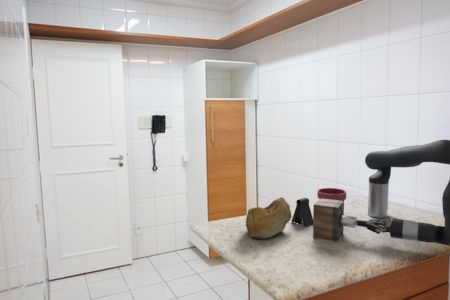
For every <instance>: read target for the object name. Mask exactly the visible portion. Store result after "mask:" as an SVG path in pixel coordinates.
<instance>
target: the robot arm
mask: <svg viewBox="0 0 450 300" xmlns="http://www.w3.org/2000/svg"><path fill="white" fill-rule="evenodd" d="M364 163H365V165H366V167H367V168H368V169H370V170H376V172H375V173H373V174H372V175H370V176H369V177H368V196H367V199H368V200H367V201H368V202H367V215H368V216H369V217H372V218H374V219H368V220H363V219H357V224H356V227H363V228H366V230H368V231H371V232H372V233H375V234H378V235H379V234H382V233H384V234H385V233H388V234H389V235H390V236H389V237H390V238H394V239H398V240H399V239H400V240H406V241H415V242H423V243H431V244H433V243H435V244H439V245H443V246H449V247H450V179H449V180H448V182H447V184H446V186H445V189H444V190H443V192H442V197H441V200H442V201H441V202H442V214H443V217H444V226H443V225H436V224H433V223H427V222H421V221H419V222H418V221H416V220H415V221H414V220H409V219H402V218H394V217H391V219H390V221H386V220H385V219H384V218H388V214H389V212H388V209H389V183H390V178H391V174H392V173H391V171H392V168H414V167H417V166H420V165H421V164H423V163H436V164H437V163H438V164H442V165H449V166H450V139H438V140H434V141H432V142H429V143H424V144H418V145H417V144H416V145H408V146H402V147H398V148H393V149H389V150H385V151H384V150H382V151H381V150H378V151H377V150H376V151H375V150H374V151H370V152H368V153H367V154H366V155H365V158H364Z"/></svg>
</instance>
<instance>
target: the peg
mask: <svg viewBox="0 0 450 300" xmlns="http://www.w3.org/2000/svg"><path fill="white" fill-rule="evenodd" d="M357 220H358V219H357V216H350V215H345V214H344V215H340V220H339V225H340V226H343V227H347V228H352V229H353V228H355V229H356V228H357V225H356V224H357Z"/></svg>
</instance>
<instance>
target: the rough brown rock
mask: <svg viewBox="0 0 450 300" xmlns="http://www.w3.org/2000/svg"><path fill="white" fill-rule="evenodd" d="M292 217H293V215H292V211H291V208H290V204H289V203H288V202H287V201H286V199H285V198H284V197H279V198H276V199H274V200H273V201H272V202H271V203H270V204H269V205H268V206H265V207H261V206H257V207H252V208H249V209H248V211H247V215H246V218H245V227H246V230H247V233H248V235H249V236H250V237H251V238H255V239H258V238H259V240H262V239H269V238H272V237H274V236H275V235H276V234H280V232H283V231H284V230H285V228H286V225H287V223H289V222H290V221H291V220H292Z"/></svg>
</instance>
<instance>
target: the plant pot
mask: <svg viewBox="0 0 450 300" xmlns="http://www.w3.org/2000/svg"><path fill="white" fill-rule="evenodd" d="M316 193H317V194H316V195H317V198H318V200H320V199H321V198H322V199H331V200H340V201H344V202H345V200H347V191H346V190H345V189H342V188H337V187H336V188H335V187H334V188H333V187H326V188H319V189H318V190H317V192H316Z"/></svg>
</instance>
